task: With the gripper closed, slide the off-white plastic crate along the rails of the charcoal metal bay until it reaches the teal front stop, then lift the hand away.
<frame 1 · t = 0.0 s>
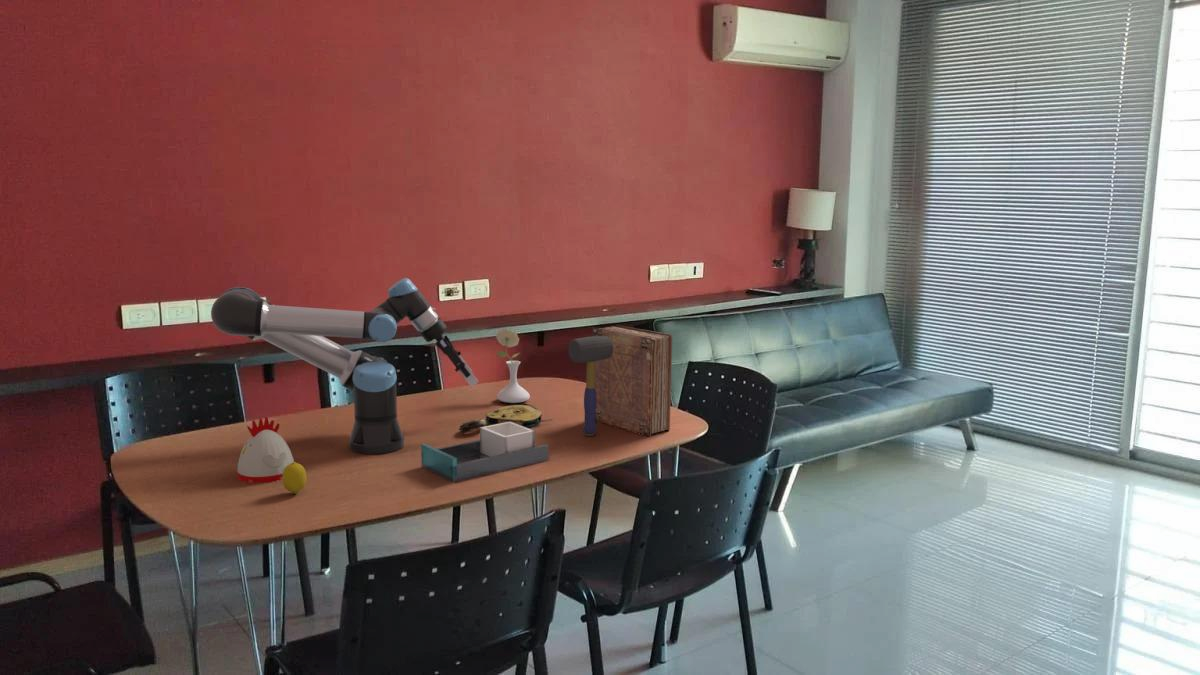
hand: (472, 379, 273), 15 cm above the table, tool tilted 35°, fingers open, 13 cm apart
book: (630, 426, 281), on the table
crate: (507, 441, 246), point 5 cm above the table, slide at 0.0 cm
rubber mallet: (589, 435, 270), on the table
lemon: (295, 494, 218), on the table
flower in vase: (511, 401, 310), on the table
kitchen timer: (266, 474, 232), on the table
pulley block: (502, 427, 278), on the table
bay: (485, 463, 242), on the table
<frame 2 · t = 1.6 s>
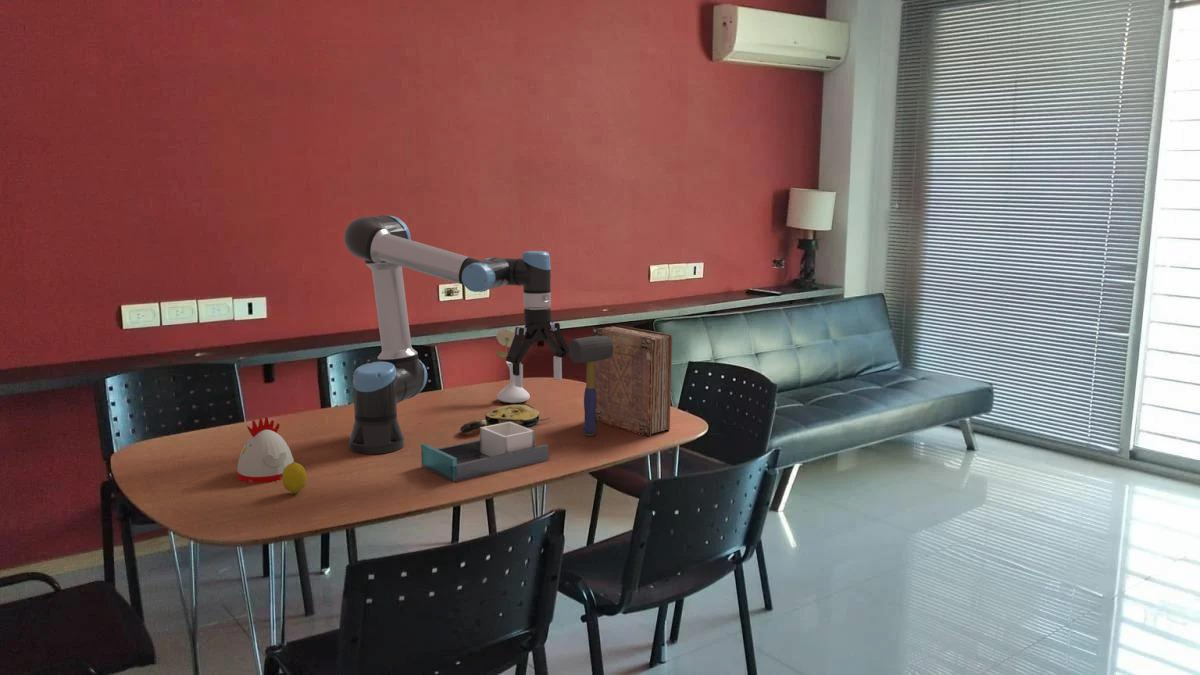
hand: (538, 383, 251), 19 cm above the table, tool pointing down, fingers open, 13 cm apart
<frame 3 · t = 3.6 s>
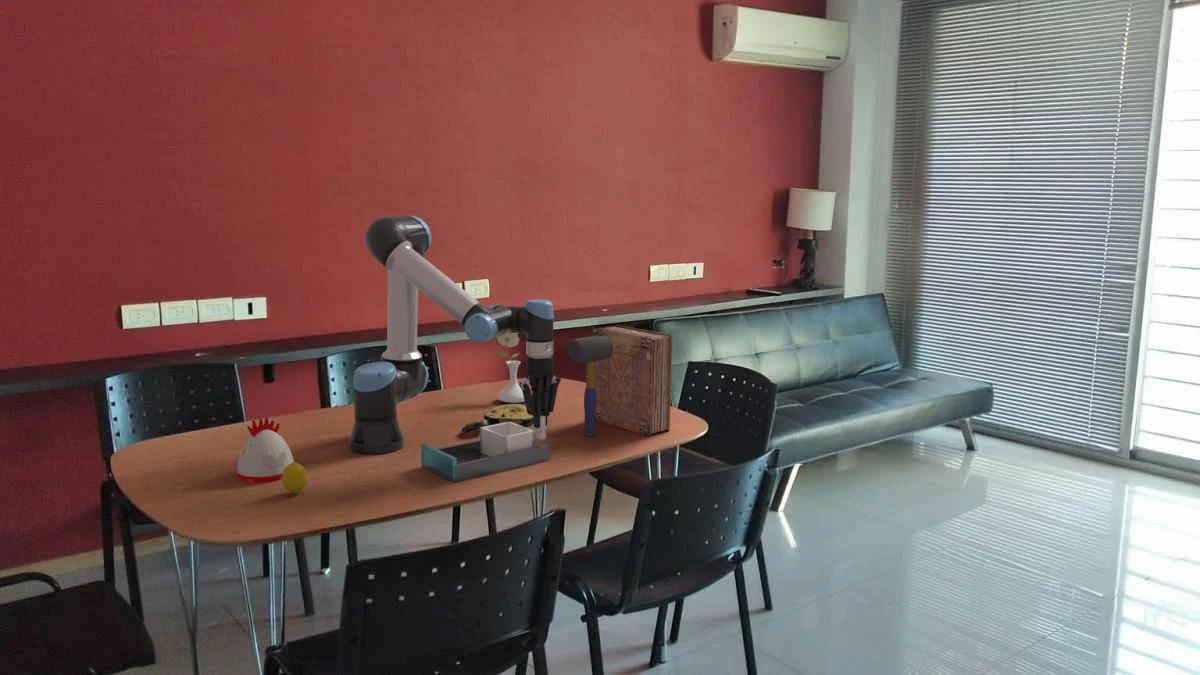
hand: (540, 438, 253), 4 cm above the table, tool pointing down, fingers closed
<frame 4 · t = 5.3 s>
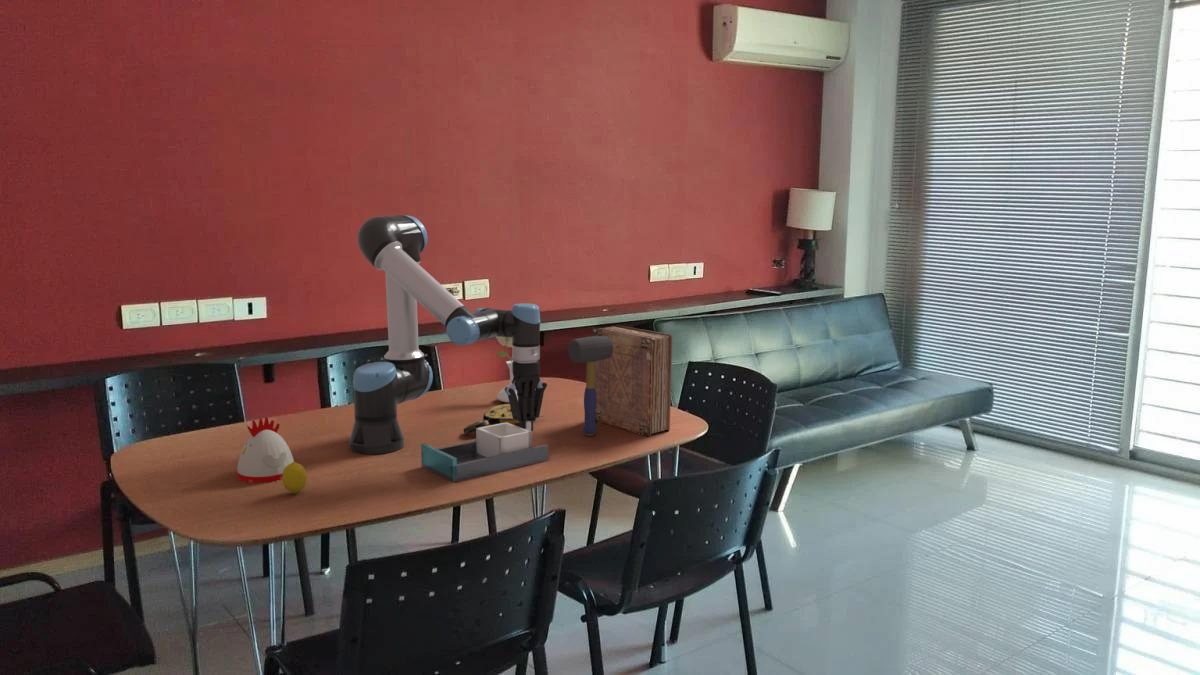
hand: (526, 443, 250), 3 cm above the table, tool pointing down, fingers closed
crate: (503, 442, 245), point 5 cm above the table, slide at 1.2 cm, touching gripper
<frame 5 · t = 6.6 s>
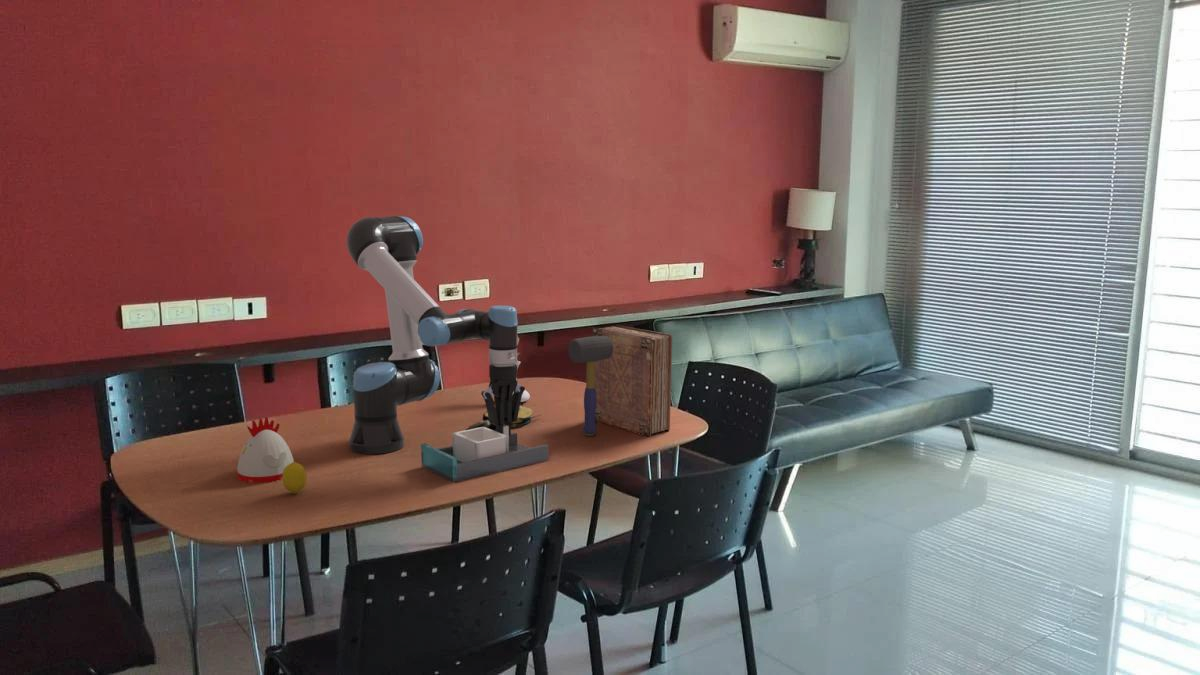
hand: (503, 448, 246), 3 cm above the table, tool pointing down, fingers closed
crate: (480, 447, 240), point 5 cm above the table, slide at 8.7 cm, touching gripper
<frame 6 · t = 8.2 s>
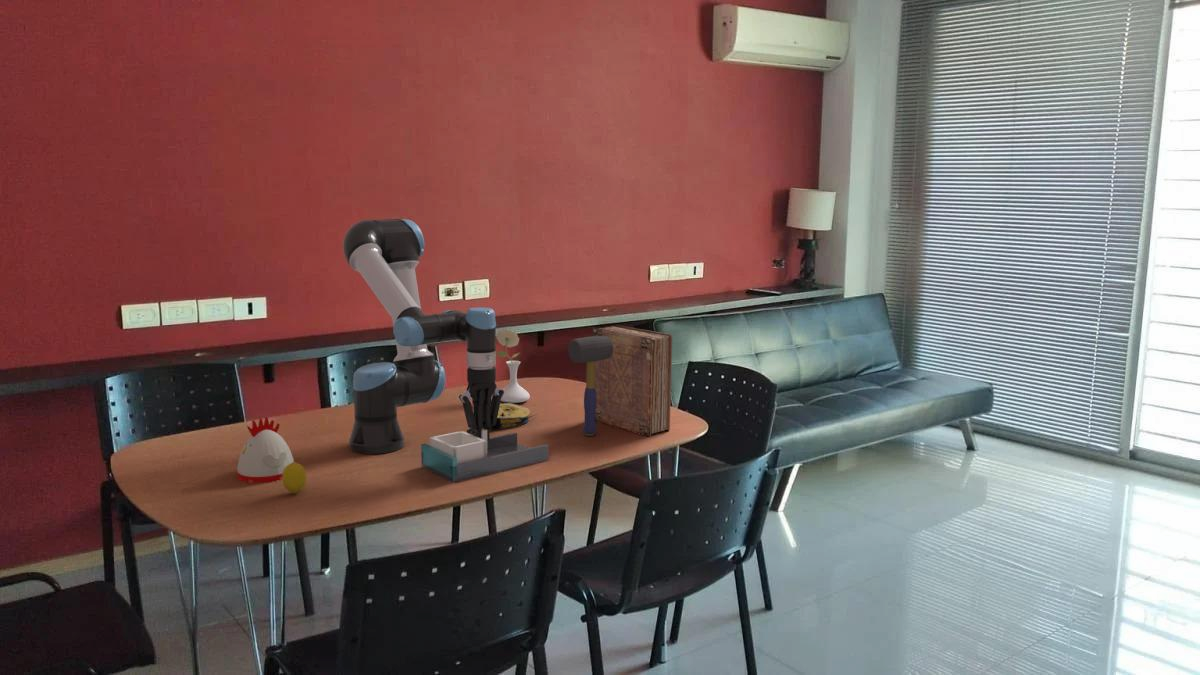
hand: (482, 452, 241), 3 cm above the table, tool pointing down, fingers closed
crate: (458, 452, 236), point 5 cm above the table, slide at 15.5 cm, touching gripper
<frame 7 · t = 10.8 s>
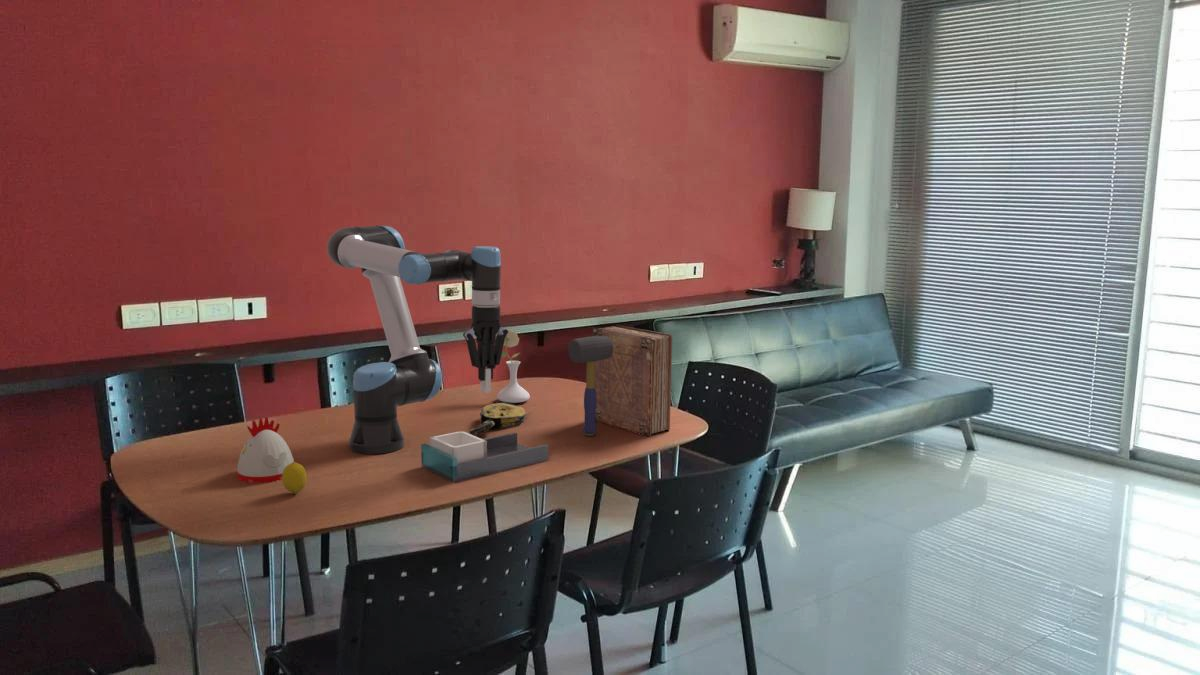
hand: (485, 391, 243), 19 cm above the table, tool pointing down, fingers closed
crate: (458, 452, 236), point 5 cm above the table, slide at 15.5 cm
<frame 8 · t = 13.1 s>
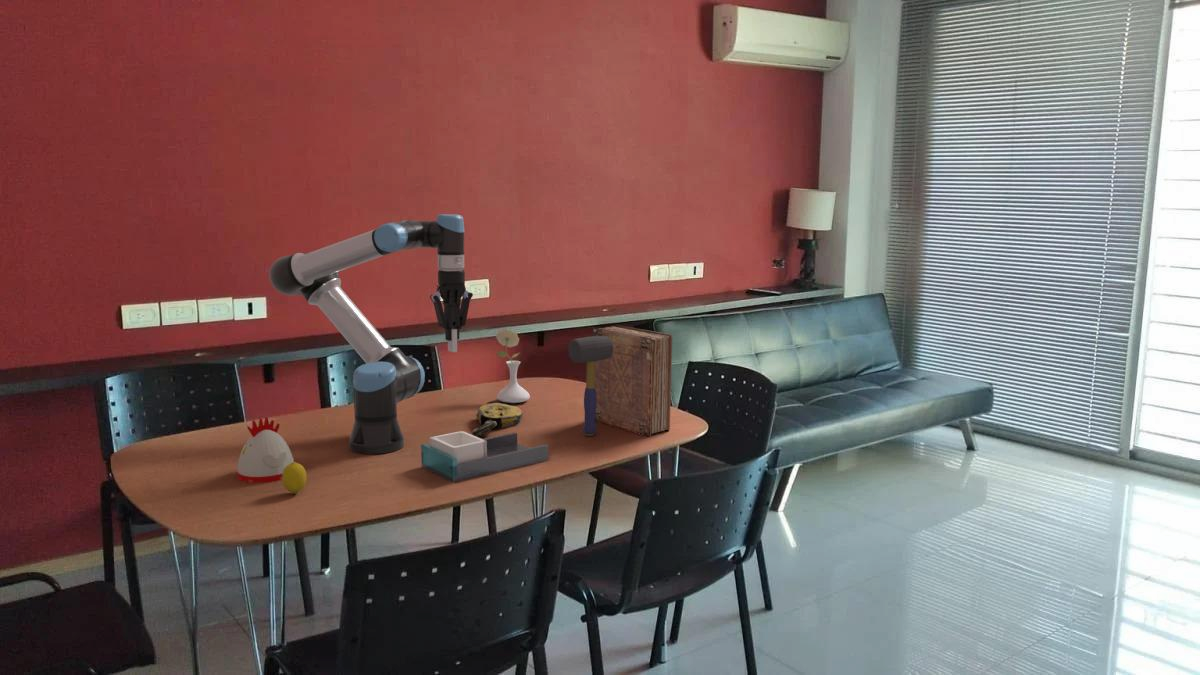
hand: (452, 351, 259), 26 cm above the table, tool pointing down, fingers closed
at the end: crate slide at 15.5 cm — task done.
